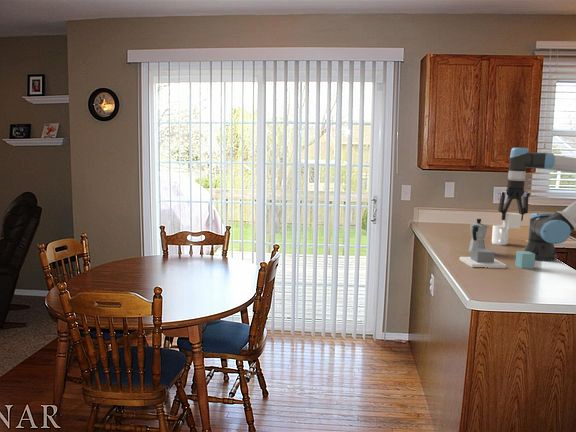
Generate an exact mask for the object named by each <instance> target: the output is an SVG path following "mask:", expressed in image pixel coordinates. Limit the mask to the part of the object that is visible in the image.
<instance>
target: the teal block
mask: <svg viewBox="0 0 576 432" xmlns="http://www.w3.org/2000/svg"><path fill="white" fill-rule="evenodd" d="M514 262H515V264H514V265H515V266H516V267H518V268H519V269H529V270H530V269H531V270H532V269H533V270H535V262H536V260H535V254H534V253H532V252H529V251H524V250H522V251H521V250H517V251H515V261H514Z"/></svg>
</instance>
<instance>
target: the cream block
mask: <svg viewBox="0 0 576 432" xmlns="http://www.w3.org/2000/svg"><path fill="white" fill-rule="evenodd" d="M506 214H508V217H507V226H506V227H505V228H508V229H509V230H510V229H511V230H513V229H514V230H521V223H522V221H521V217H522V215H521V214H519V212H518V213H516V212H506ZM502 227H503V226H502Z"/></svg>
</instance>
